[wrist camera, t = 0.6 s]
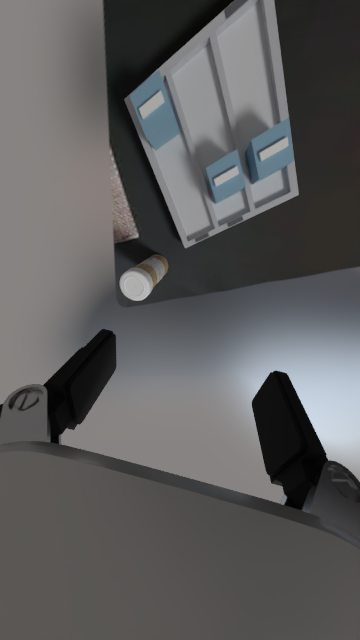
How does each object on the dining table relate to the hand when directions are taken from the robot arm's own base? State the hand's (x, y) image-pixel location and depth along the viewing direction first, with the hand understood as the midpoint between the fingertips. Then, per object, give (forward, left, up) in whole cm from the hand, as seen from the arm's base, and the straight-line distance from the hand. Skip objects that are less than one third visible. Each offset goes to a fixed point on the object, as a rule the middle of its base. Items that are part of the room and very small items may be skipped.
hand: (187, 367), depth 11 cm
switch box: (-7, -14, -28) cm, 33 cm away
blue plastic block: (-13, -10, -26) cm, 31 cm away
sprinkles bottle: (+9, -3, -28) cm, 30 cm away
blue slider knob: (-7, -10, -26) cm, 29 cm away
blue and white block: (-2, -20, -26) cm, 33 cm away
